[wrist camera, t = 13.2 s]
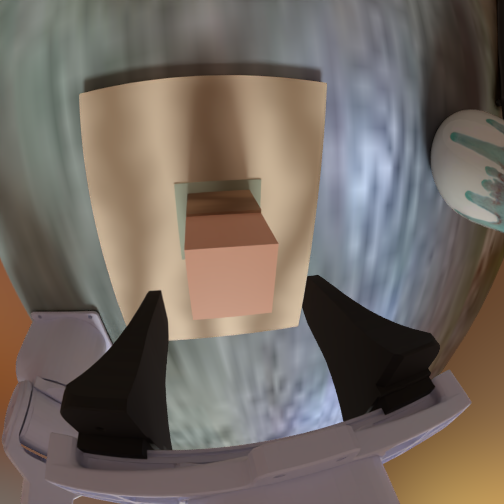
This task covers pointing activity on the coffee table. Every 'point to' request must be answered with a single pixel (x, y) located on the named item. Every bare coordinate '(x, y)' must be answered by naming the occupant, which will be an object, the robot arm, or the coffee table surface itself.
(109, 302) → the coffee table surface
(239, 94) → the birch board
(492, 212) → the vase
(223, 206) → the walnut block
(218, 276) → the terracotta block
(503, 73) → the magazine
